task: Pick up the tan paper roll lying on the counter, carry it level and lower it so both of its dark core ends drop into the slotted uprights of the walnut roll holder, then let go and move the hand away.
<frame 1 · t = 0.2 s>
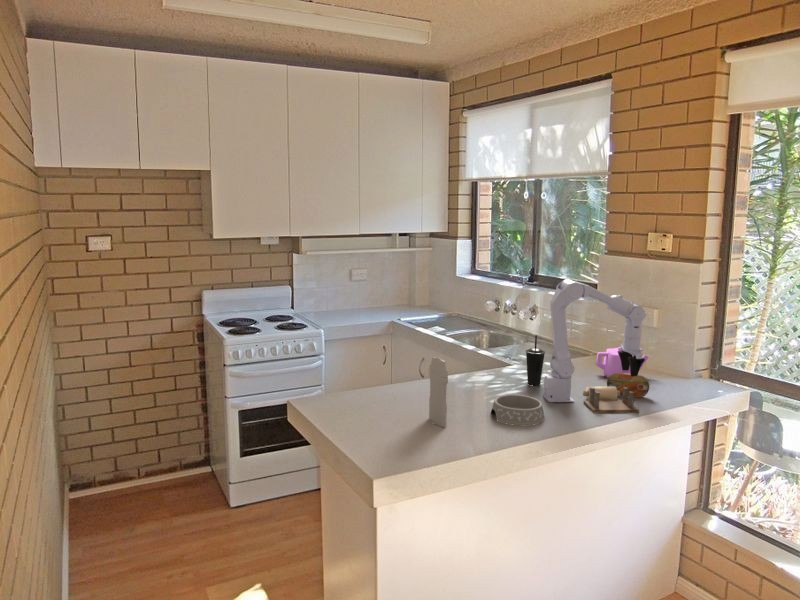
hand: (629, 373, 227), 10 cm above the countertop, tool pointing down, fingers open, 7 cm apart
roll: (601, 399, 227), on the countertop
teakettle: (621, 376, 258), on the countertop
tin: (627, 395, 233), on the countertop
holder: (610, 407, 218), on the countertop
drinking cup: (533, 385, 245), on the countertop
dog bowl: (517, 417, 210), on the countertop
dispenser: (437, 423, 202), on the countertop
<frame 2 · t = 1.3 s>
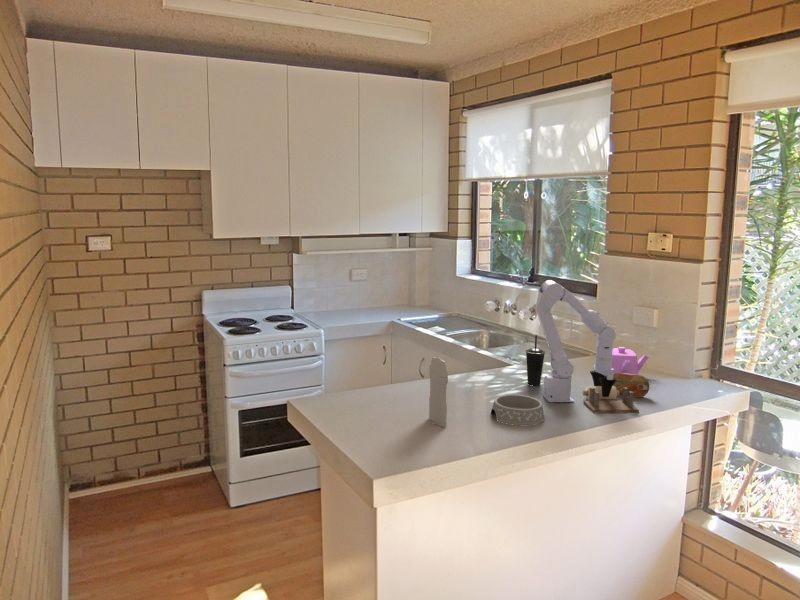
hand: (601, 393, 227), 2 cm above the countertop, tool pointing down, fingers open, 7 cm apart
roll: (601, 399, 227), on the countertop, tilted 15°
everything else where it was.
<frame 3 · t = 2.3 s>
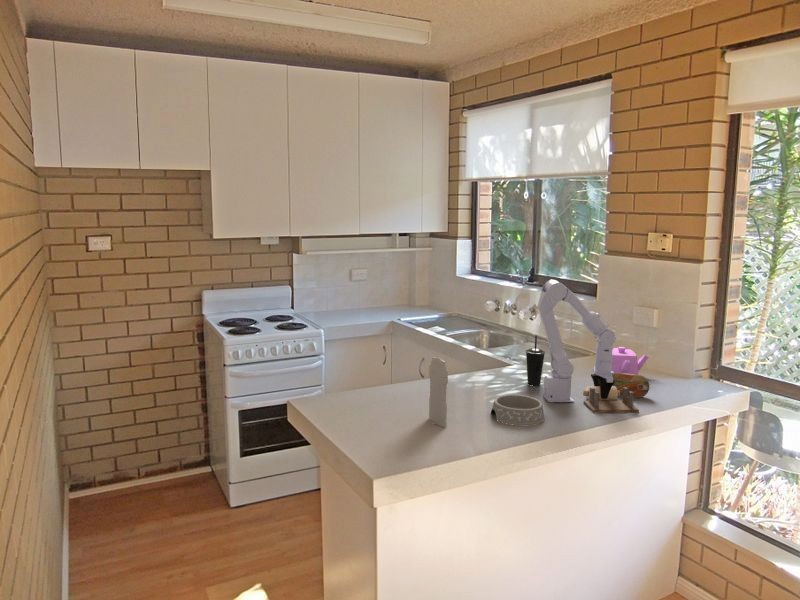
hand: (601, 395, 227), 1 cm above the countertop, tool pointing down, fingers closed on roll, 5 cm apart
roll: (601, 399, 227), on the countertop, touching gripper
everything else where it was.
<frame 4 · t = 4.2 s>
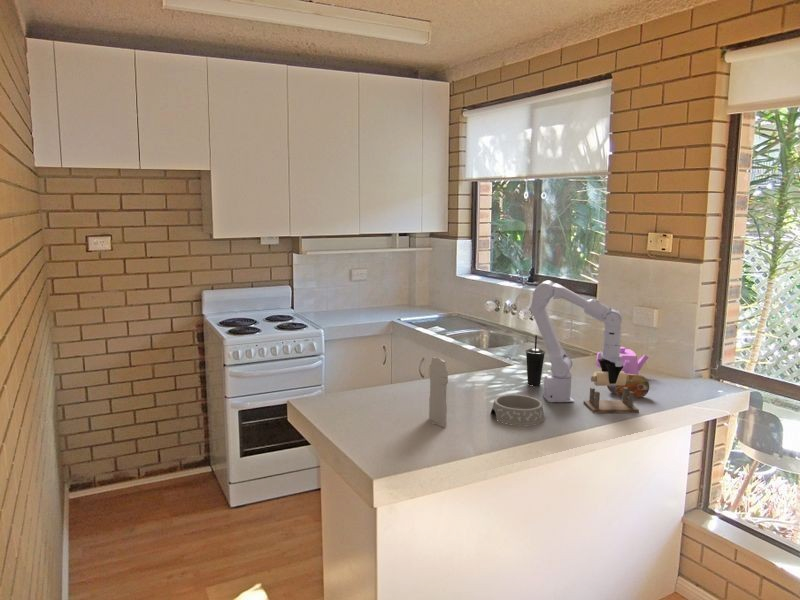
hand: (609, 381, 219), 9 cm above the countertop, tool pointing down, fingers closed on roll, 5 cm apart
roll: (609, 385, 220), point 7 cm above the countertop, touching gripper
everything else where it was.
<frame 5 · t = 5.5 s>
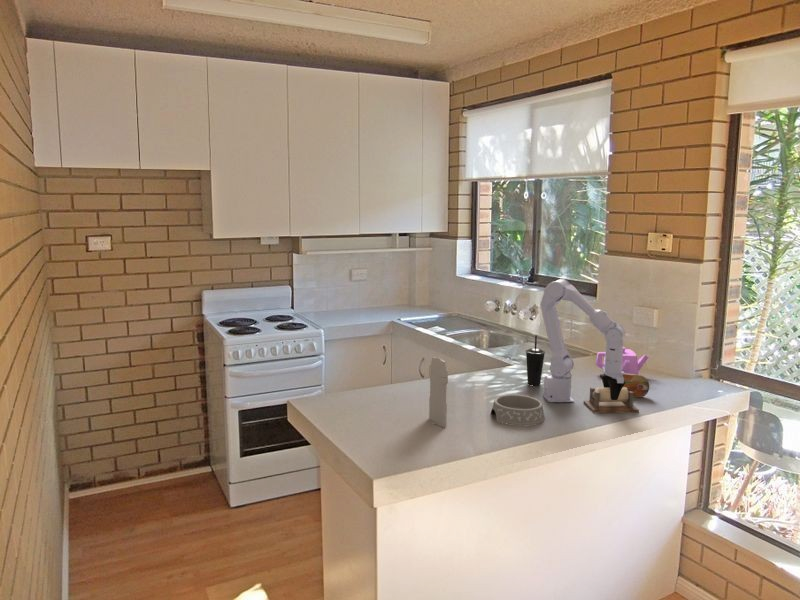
hand: (611, 397, 218), 4 cm above the countertop, tool pointing down, fingers closed on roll, 5 cm apart
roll: (611, 401, 218), point 2 cm above the countertop, touching gripper
everything else where it was.
when the fingers open (4 cm above the countertop, at t = 6.2 s): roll stays where it is, resting on holder.
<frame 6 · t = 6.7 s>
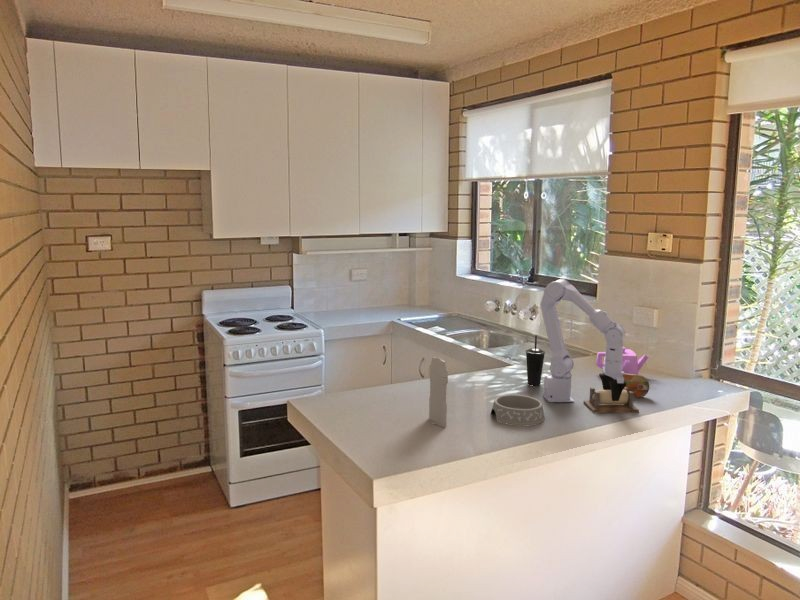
hand: (611, 397, 218), 4 cm above the countertop, tool pointing down, fingers open, 7 cm apart
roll: (611, 403, 218), point 2 cm above the countertop, touching holder
everything else where it was.
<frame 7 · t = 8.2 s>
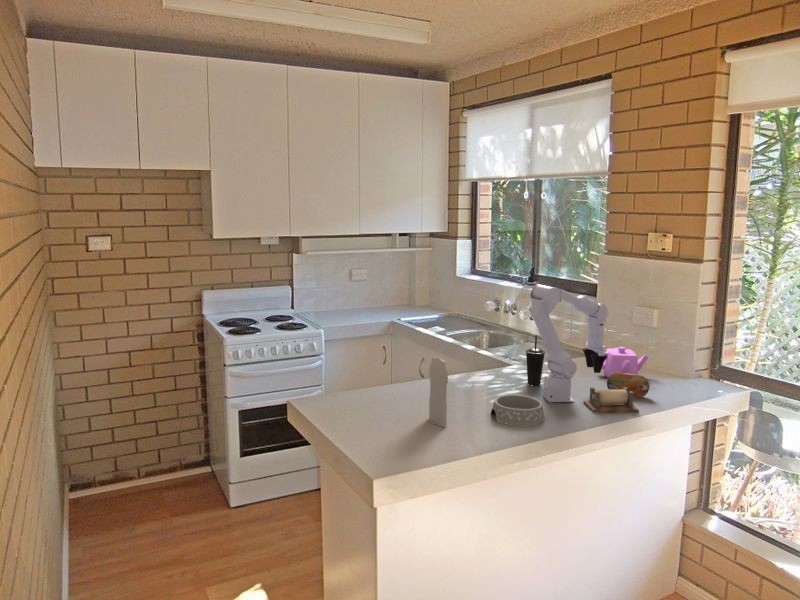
hand: (593, 369, 232), 9 cm above the countertop, tool pointing down, fingers open, 7 cm apart
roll: (611, 403, 218), point 2 cm above the countertop, tilted 10°, touching holder
everything else where it was.
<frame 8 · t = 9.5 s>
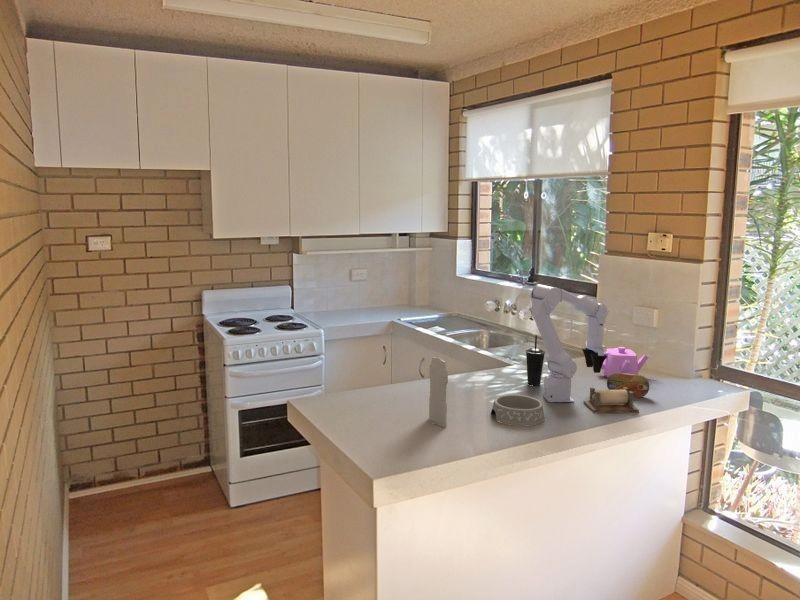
hand: (593, 369, 232), 9 cm above the countertop, tool pointing down, fingers open, 7 cm apart
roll: (611, 403, 218), point 1 cm above the countertop, touching holder
everything else where it was.
at the end: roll 0.1 cm off-centre on the holder, point 1.5 cm above the holder's base; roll tilted 2°; the gripper is holding nothing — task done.
